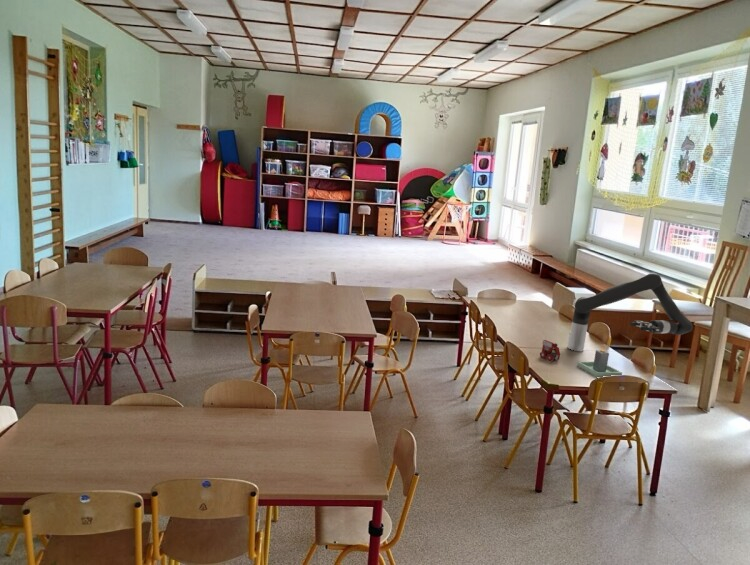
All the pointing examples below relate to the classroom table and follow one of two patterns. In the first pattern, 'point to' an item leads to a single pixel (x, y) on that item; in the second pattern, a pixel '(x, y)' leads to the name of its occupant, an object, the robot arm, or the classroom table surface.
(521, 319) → the classroom table surface
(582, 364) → the green tray
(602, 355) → the block
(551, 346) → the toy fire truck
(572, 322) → the robot arm
